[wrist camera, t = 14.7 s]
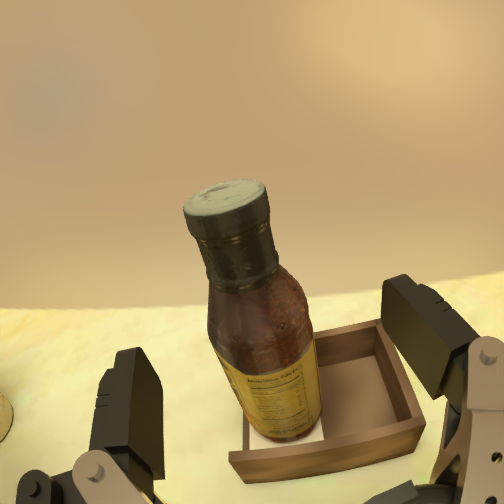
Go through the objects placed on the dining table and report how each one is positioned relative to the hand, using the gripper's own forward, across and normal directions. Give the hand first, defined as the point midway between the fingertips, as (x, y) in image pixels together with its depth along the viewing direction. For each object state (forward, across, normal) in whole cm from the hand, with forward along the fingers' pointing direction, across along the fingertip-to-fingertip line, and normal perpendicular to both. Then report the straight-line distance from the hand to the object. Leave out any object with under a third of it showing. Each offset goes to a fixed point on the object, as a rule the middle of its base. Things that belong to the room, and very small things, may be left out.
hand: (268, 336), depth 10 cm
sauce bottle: (+7, 0, +18) cm, 19 cm away
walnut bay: (+7, -3, +18) cm, 20 cm away
